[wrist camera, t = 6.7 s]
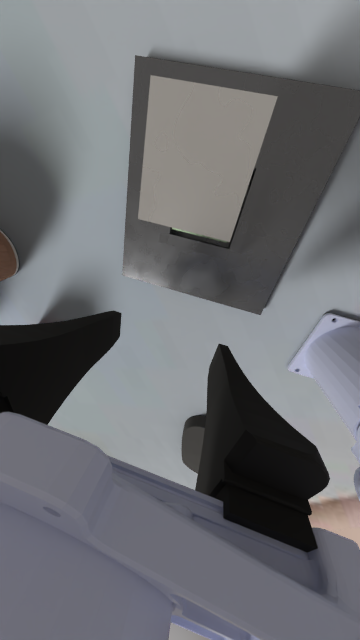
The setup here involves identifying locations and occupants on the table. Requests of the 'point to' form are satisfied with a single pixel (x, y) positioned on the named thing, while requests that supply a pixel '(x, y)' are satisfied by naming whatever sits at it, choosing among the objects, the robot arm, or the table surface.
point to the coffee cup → (7, 258)
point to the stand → (261, 196)
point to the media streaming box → (193, 441)
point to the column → (200, 154)
